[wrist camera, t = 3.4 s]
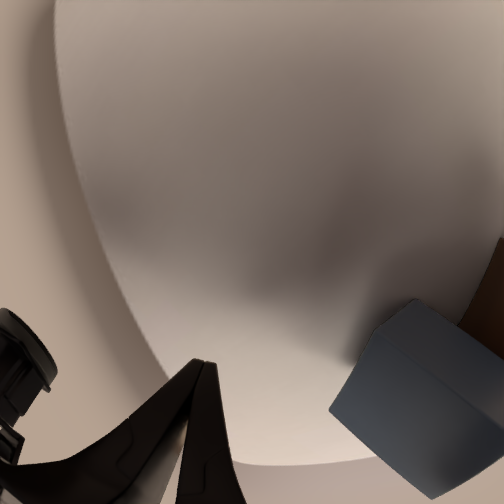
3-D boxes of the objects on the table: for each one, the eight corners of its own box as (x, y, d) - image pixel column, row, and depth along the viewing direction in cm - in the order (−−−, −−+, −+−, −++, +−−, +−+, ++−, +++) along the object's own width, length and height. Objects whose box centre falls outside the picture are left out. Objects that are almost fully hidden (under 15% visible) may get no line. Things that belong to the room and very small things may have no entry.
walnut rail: (396, 408, 14) (406, 461, 10) (500, 236, 8) (555, 285, 4) (420, 407, 13) (432, 456, 10) (521, 244, 8) (570, 289, 4)
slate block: (324, 373, 12) (332, 521, 5) (360, 290, 10) (415, 486, 3) (436, 373, 12) (471, 483, 5) (480, 304, 10) (551, 422, 3)
